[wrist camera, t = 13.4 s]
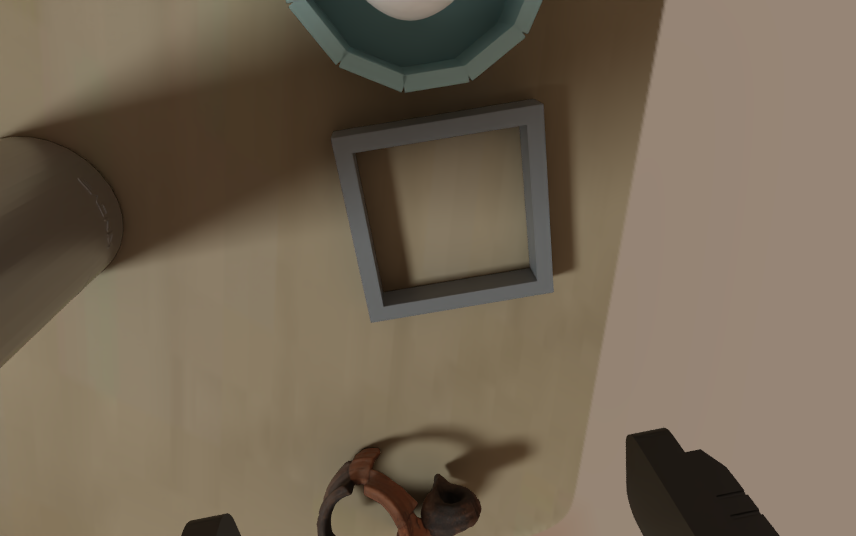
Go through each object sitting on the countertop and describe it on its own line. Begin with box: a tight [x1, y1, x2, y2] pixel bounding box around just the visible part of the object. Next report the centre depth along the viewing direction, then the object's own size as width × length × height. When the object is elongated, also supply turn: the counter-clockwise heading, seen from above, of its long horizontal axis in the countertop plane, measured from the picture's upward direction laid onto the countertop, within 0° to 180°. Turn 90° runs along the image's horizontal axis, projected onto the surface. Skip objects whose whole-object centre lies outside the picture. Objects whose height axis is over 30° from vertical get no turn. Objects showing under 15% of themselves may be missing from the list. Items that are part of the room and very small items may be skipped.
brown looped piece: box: [317, 448, 481, 536], centre depth 43 cm, size 12×10×8 cm
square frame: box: [331, 99, 554, 323], centre depth 35 cm, size 12×12×2 cm
